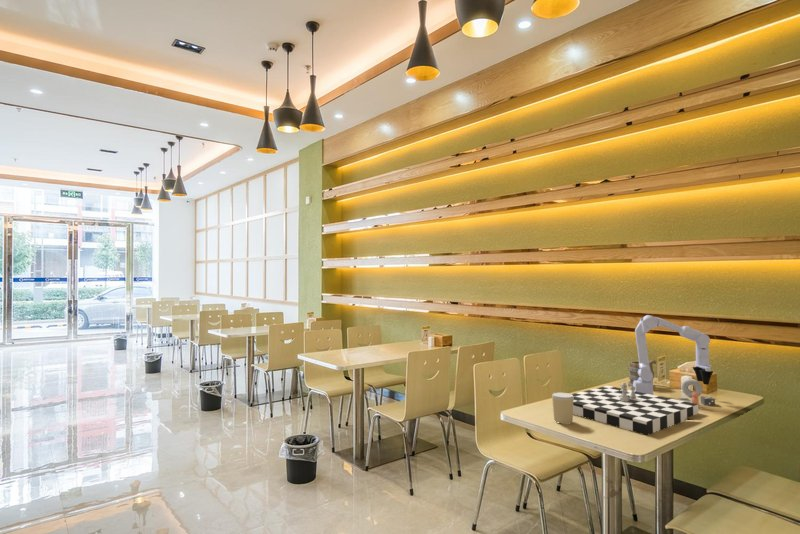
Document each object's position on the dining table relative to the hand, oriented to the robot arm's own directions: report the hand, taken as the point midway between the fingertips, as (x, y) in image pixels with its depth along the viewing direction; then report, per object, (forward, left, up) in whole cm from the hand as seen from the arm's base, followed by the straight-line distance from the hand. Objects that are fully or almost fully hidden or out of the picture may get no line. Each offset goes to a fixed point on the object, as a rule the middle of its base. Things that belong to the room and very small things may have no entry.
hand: (702, 382), depth 234 cm
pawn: (-9, -16, -9) cm, 21 cm away
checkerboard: (-43, -29, -11) cm, 53 cm away
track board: (-9, -9, -10) cm, 16 cm away
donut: (-2, +9, -10) cm, 14 cm away
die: (-1, -9, -10) cm, 13 cm away
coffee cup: (-73, -50, -10) cm, 89 cm away
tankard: (-19, +32, -10) cm, 39 cm away
